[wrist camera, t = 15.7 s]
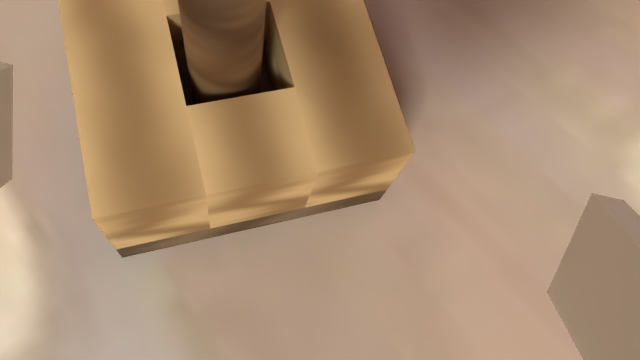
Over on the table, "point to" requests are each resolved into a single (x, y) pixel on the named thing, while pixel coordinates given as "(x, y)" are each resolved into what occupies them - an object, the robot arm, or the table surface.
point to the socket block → (228, 122)
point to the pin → (223, 47)
